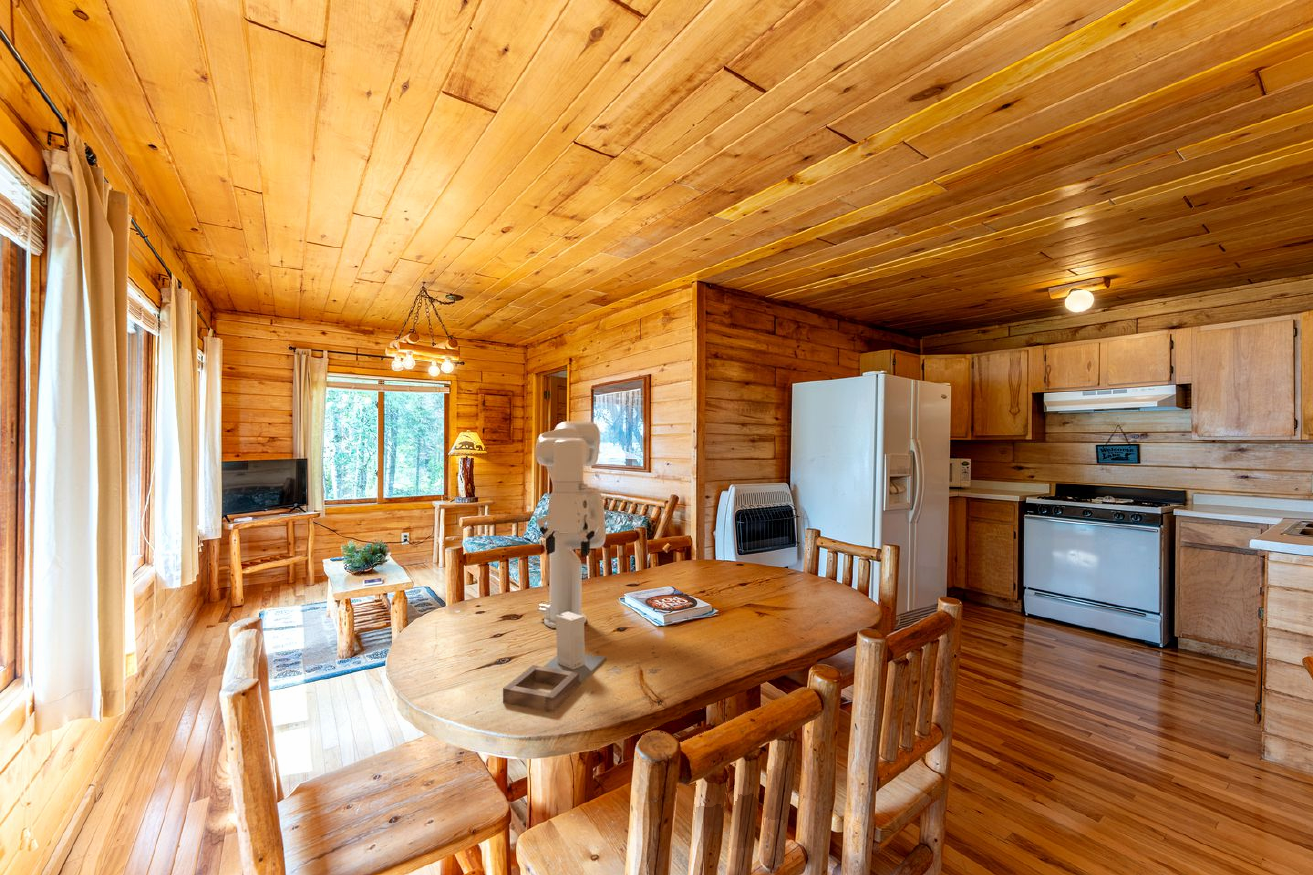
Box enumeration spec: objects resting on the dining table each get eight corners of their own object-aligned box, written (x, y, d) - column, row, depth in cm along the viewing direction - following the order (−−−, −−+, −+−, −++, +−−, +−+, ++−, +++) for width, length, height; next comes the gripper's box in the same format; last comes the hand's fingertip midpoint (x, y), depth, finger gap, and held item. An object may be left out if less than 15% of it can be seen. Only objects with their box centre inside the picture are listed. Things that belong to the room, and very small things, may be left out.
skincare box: (585, 664, 133) (586, 615, 132) (571, 671, 129) (572, 620, 129) (568, 657, 137) (569, 610, 136) (555, 663, 133) (555, 614, 133)
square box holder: (502, 702, 116) (503, 688, 115) (532, 677, 127) (532, 664, 127) (552, 712, 112) (553, 697, 112) (579, 685, 123) (579, 672, 123)
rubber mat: (535, 675, 128) (535, 673, 128) (563, 652, 141) (563, 650, 141) (580, 683, 124) (580, 681, 124) (605, 659, 137) (605, 656, 137)
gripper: (605, 487, 139) (604, 554, 139) (545, 484, 144) (545, 548, 144) (592, 491, 131) (592, 561, 132) (530, 487, 137) (530, 554, 137)
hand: (567, 554), depth 138 cm, fingers open, 9 cm apart
